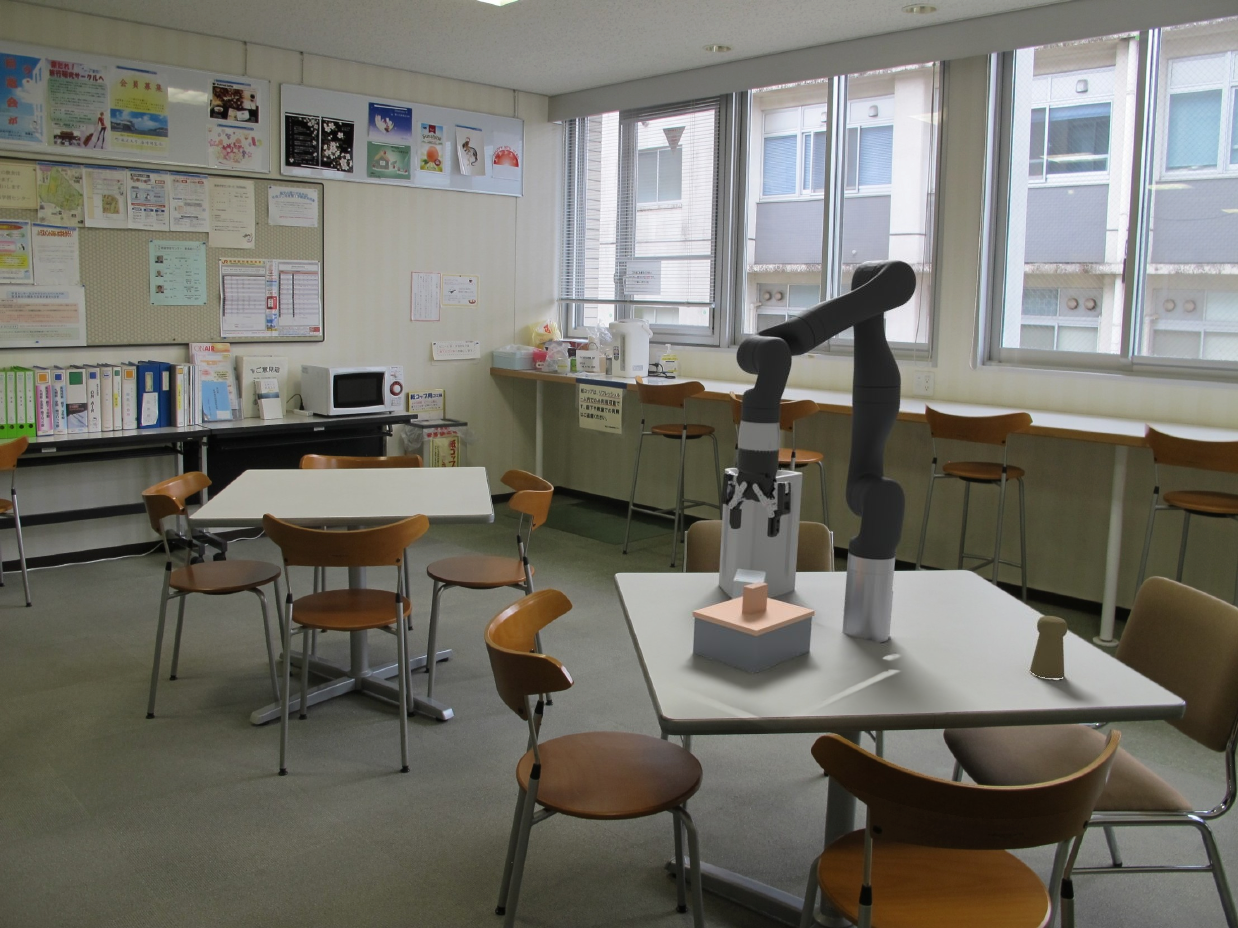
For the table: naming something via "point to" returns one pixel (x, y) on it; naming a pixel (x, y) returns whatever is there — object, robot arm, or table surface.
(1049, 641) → the cork
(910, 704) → the table surface
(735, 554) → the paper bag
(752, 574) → the skincare box
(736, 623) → the lid
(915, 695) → the table surface
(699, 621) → the tub
